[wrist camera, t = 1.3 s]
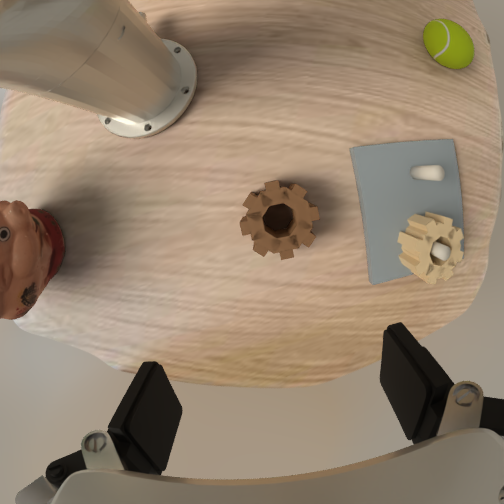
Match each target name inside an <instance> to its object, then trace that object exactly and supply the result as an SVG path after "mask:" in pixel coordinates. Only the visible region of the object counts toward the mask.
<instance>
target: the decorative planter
mask: <svg viewBox="0 0 504 504" xmlns="http://www.w3.org/2000/svg"><path fill="white" fill-rule="evenodd" d="M64 254H65V244H64V238H63V235H62V232H61V229H60V227H59V225H58V223H57V222H56V220H55V219H54V218H53V216H51V215H50V214H49V213H48V212H46V211H44V210H41V209H28V207H27V206H26V205H25V204H24V203H23V202H21V201H17V200H16V201H13V202H12V203H10V202H8V201H0V319H1V318H4V319H11V320H12V319H17V318H20V317H22V316H24V315H25V314H26V313H27V312H28V311H29V310H30V309H31V308H32V307H33V306H34V304H35V303H36V301H37V299H38V297H39V296H40V294H41V293H42V291H43V290H44V288H45V287H46V285H47V284H48V282H49V281H50V279H51V278H52V277H53V276H54V275H55V274H56V273H57V272H58V270H59V268H60V266H61V263H62V259H63V257H64Z"/></svg>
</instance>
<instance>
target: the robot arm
mask: <svg viewBox="0 0 504 504" xmlns="http://www.w3.org/2000/svg"><path fill="white" fill-rule="evenodd" d="M197 78H198V76H197V67H196V64H195V62H194V59H193V58H192V56H191V54H190V53H189V52H188V51H187V49H186V48H185V47H183V46H182V45H180V44H179V43H177V42H174V41H172V40H168V39H160V38H159V37H158V36H157V34H156V33H155V32H154V31H153V29H152V28H151V27H150V26H149V25H148V23H147V20H146V14H145V13H143V12H138V11H137V10H136V9H135V8H134V7H133V6H132V4H131V3H130V2H129V1H128V0H0V88H4V89H9V90H14V91H18V92H23V93H27V94H30V95H34V96H38V97H42V98H45V99H49V100H53V101H56V102H60V103H63V104H67V105H70V106H73V107H77V108H80V109H83V110H86V111H90V112H93V113H96V114H97V115H98V118H99V120H100V122H101V123H102V124H103V126H104V127H105V128H106V129H107V130H109V131H110V132H111V133H113V134H115V135H118V136H121V137H125V138H133V139H137V138H145V137H148V136H151V135H155V134H157V133H159V132H161V131H162V130H164V129H166V128H167V127H169V126H170V125H171V124H173V123H174V122H175V121H176V120H177V119H178V118H179V117H180V116H181V115H182V114H183V112H184V111H185V110H186V108H187V107H188V106H189V104H190V102H191V100H192V98H193V96H194V93H195V90H196V87H197ZM186 91H189V92H188V93H187V94H185V92H186ZM150 127H152V128H151V130H149V128H150ZM380 383H381V385H382V387H383V389H384V391H385V393H386V395H387V397H388V399H389V402H390V404H391V405H392V408H393V410H394V412H395V414H396V416H397V418H398V420H399V422H400V424H401V426H402V429H403V431H404V433H405V435H406V437H407V439H408V440H411V439H412V441H413V444H414V445H411V446H409V447H406V448H403V449H400V450H398V451H395V452H392V453H388V454H385V455H382V456H379V457H376V458H372V459H369V460H365V461H362V462H358V463H354V464H350V465H346V466H342V467H337V468H333V469H328V470H323V471H317V472H311V473H305V474H298V475H291V476H282V477H272V478H259V479H237V480H236V479H234V480H218V479H217V480H216V479H215V480H213V479H192V478H180V477H170V476H161V473H162V471H164V470H165V469H166V467H167V463H168V460H169V456H170V452H171V449H172V446H173V442H174V439H175V436H176V432H177V429H178V426H179V422H180V419H181V415H182V406H181V404H180V402H179V400H178V398H177V396H176V394H175V393H174V390H173V388H172V386H171V384H170V382H169V380H168V378H167V375H166V373H165V371H164V369H163V367H162V365H159V364H158V363H157V362H155V361H153V362H143V363H142V365H141V367H140V368H139V370H138V372H137V374H136V376H135V377H134V379H133V381H132V383H131V385H130V386H129V388H128V390H127V392H126V394H125V395H124V397H123V399H122V401H121V403H120V405H119V406H118V408H117V410H116V412H115V414H114V416H113V417H112V419H111V422H110V423H109V425H108V428H109V429H108V431H107V432H106V431H103V430H95V431H92V432H90V433H88V434H87V435H86V436H85V437H84V438H83V440H82V442H81V450H79V451H77V452H75V453H72V454H70V455H68V456H65V457H63V458H61V459H58V460H56V461H53V462H52V463H50V465H49V466H48V467H47V469H46V477H44V476H41V477H39V478H38V479H36V480H35V481H34V482H32V483H31V484H30V485H28V486H27V487H25V488H24V489H22V490H21V491H19V492H18V494H17V495H16V504H504V399H497V398H490V397H484V396H483V391H482V389H481V387H480V386H479V385H478V384H476V383H474V382H471V381H462V382H459V383H457V384H454V383H453V382H452V380H451V379H450V378H449V376H448V375H447V374H446V373H445V371H444V370H443V369H442V367H441V366H440V365H439V364H438V362H437V361H436V360H435V359H434V357H433V356H432V355H431V354H430V352H429V351H428V350H427V349H426V348H425V347H422V346H421V345H420V344H419V343H418V341H417V340H416V339H415V338H414V337H413V335H412V334H411V333H410V332H409V331H408V329H407V328H406V327H405V326H404V325H403V324H402V323H401V322H399V323H396V324H392V325H389V326H388V327H387V330H384V334H383V349H382V361H381V371H380Z"/></svg>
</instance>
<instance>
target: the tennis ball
mask: <svg viewBox="0 0 504 504" xmlns="http://www.w3.org/2000/svg"><path fill="white" fill-rule="evenodd" d="M423 40H424V44H425V47H426V49H427V51H428V52H429V54H430V55H431V56H432V58H433V59H434V60H436V61H437V62H438V63H439V64H441V65H443V66H445V67H448V68H451V69H461V68H464V67H467V66H468V65H469V64H470V63H471V62H472V60H473V58H474V45H473V42H472V39H471V38H470V36H469V34H468V33H467V32H466V31H465V30H464V29H463V28H462V27H461V26H460V25H458V24H457V23H455V22H453V21H450V20H447V19H435V20H432V21H431V22H429V23H428V24H427V25H426V27H425V29H424V32H423Z"/></svg>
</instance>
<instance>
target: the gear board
mask: <svg viewBox="0 0 504 504" xmlns="http://www.w3.org/2000/svg"><path fill="white" fill-rule="evenodd" d="M350 154H351V158H352V163H353V168H354V173H355V178H356V183H357V189H358V194H359V200H360V207H361V213H362V220H363V227H364V235H365V243H366V252H367V262H368V273H369V282H370V283H371V284H372V285H375V284H379V283H383V282H386V281H390V280H394V279H397V278H401V277H405V276H408V275H412V274H415V275H417V276H418V277H419V278H421V279H422V280H424V281H425V282H426V283H429V284H436V281H437V278H440V279H441V278H443V279H444V280H446V281H447V280H448V279H449V278H450V277H451V276H453V275H454V274H453V271H452V269H453V268H454V267H455V266H456V262H461V261H462V259H463V258H464V228H463V209H462V197H461V187H460V179H459V171H458V165H457V159H456V153H455V148H454V142H453V139H444V140H424V141H410V142H398V143H387V144H378V145H369V146H361V147H353V148H350Z"/></svg>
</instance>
